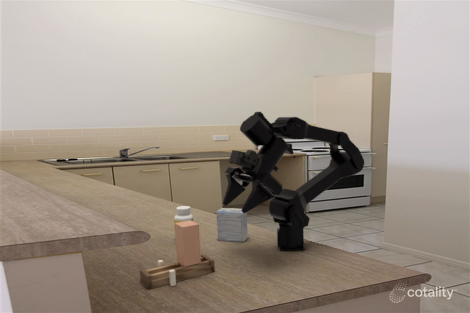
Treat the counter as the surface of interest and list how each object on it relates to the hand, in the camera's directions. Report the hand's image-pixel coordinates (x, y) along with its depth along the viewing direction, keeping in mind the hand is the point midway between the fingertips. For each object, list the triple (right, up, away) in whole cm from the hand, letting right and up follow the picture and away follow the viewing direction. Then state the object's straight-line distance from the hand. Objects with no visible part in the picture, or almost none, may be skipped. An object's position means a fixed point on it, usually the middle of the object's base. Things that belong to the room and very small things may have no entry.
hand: (233, 208), depth 99 cm
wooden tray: (-12, -15, -6) cm, 20 cm away
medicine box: (0, -12, +19) cm, 22 cm away
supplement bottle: (-14, -12, +19) cm, 27 cm away
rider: (-10, -13, -5) cm, 17 cm away
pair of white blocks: (-15, -15, -8) cm, 22 cm away
